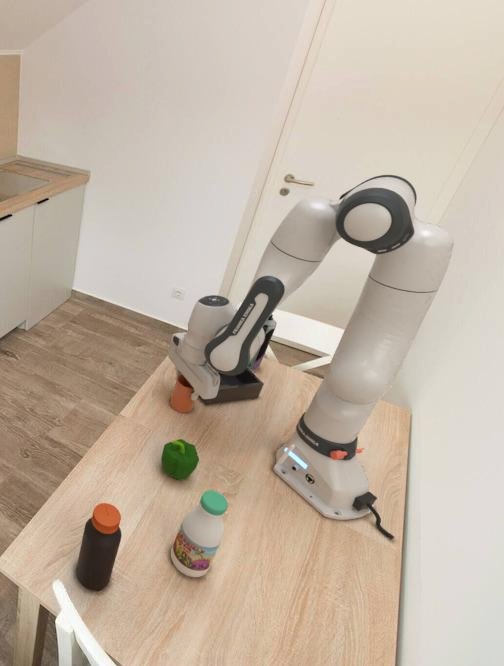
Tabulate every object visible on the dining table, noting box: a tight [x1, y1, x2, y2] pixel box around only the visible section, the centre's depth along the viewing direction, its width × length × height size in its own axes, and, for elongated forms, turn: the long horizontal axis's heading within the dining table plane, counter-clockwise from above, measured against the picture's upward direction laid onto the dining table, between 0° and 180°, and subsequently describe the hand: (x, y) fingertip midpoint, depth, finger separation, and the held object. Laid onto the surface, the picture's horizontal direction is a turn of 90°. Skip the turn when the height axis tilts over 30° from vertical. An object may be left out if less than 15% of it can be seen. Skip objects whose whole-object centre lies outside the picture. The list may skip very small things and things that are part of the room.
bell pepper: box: [160, 438, 200, 481], centre depth 115 cm, size 8×8×10 cm
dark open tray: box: [198, 368, 265, 406], centre depth 144 cm, size 13×18×6 cm
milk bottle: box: [170, 490, 229, 578], centre depth 93 cm, size 8×8×20 cm
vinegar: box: [75, 502, 123, 592], centre depth 90 cm, size 7×7×20 cm
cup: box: [169, 375, 196, 413], centre depth 136 cm, size 6×6×9 cm
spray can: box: [247, 313, 278, 372], centre depth 149 cm, size 6×6×20 cm
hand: (185, 389), depth 135 cm, fingers closed on cup, 6 cm apart
